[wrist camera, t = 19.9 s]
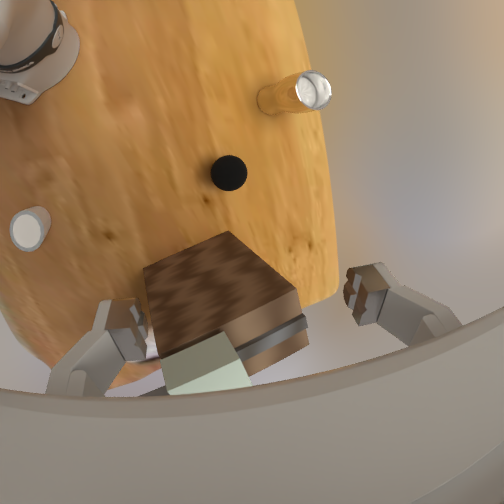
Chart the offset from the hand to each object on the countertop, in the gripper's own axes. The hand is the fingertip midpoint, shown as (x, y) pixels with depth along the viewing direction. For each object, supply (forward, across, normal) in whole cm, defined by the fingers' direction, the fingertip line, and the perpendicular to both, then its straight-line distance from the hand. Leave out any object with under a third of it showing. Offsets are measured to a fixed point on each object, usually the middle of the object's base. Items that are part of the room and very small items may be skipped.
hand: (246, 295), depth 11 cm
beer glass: (+50, +12, +2) cm, 52 cm away
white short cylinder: (+36, -33, -10) cm, 50 cm away
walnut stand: (+39, -6, -28) cm, 48 cm away
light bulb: (+44, +1, -10) cm, 46 cm away
